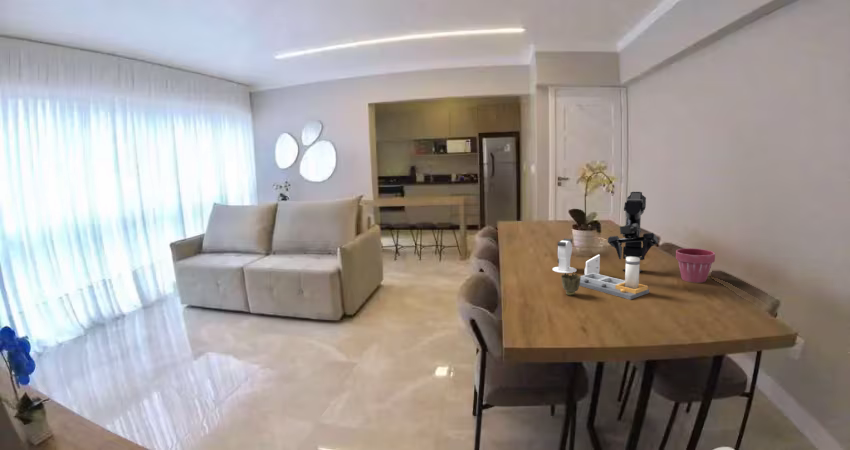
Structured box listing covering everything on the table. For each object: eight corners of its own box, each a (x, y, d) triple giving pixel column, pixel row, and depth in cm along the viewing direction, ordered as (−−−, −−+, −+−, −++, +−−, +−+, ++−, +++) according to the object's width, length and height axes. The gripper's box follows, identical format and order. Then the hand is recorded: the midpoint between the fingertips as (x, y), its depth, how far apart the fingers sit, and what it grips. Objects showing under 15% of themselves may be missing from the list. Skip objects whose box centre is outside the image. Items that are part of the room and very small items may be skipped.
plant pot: (677, 283, 177) (679, 254, 175) (671, 274, 190) (673, 247, 188) (717, 285, 171) (719, 256, 169) (708, 276, 184) (710, 248, 182)
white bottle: (632, 286, 170) (634, 256, 168) (641, 290, 165) (642, 259, 163) (621, 287, 169) (623, 257, 167) (630, 291, 164) (631, 260, 162)
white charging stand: (557, 265, 213) (557, 237, 210) (579, 268, 206) (580, 239, 204) (549, 271, 203) (549, 241, 201) (572, 274, 196) (573, 243, 194)
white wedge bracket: (609, 270, 191) (599, 255, 190) (589, 281, 192) (580, 266, 192) (606, 268, 194) (597, 253, 194) (587, 279, 196) (578, 264, 195)
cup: (580, 292, 170) (580, 273, 169) (580, 298, 163) (581, 278, 162) (561, 291, 173) (561, 272, 171) (560, 296, 166) (561, 277, 165)
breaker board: (593, 278, 188) (593, 272, 188) (649, 292, 166) (649, 285, 166) (574, 284, 181) (574, 277, 181) (630, 299, 159) (630, 292, 159)
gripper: (604, 219, 182) (601, 252, 176) (649, 214, 169) (648, 249, 163) (613, 230, 188) (611, 262, 183) (658, 226, 175) (657, 260, 169)
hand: (631, 258), depth 174 cm, fingers open, 9 cm apart
